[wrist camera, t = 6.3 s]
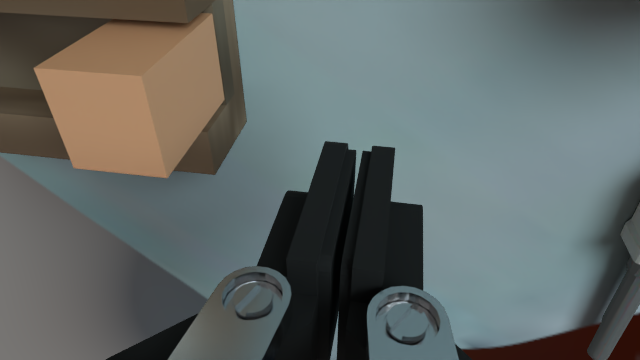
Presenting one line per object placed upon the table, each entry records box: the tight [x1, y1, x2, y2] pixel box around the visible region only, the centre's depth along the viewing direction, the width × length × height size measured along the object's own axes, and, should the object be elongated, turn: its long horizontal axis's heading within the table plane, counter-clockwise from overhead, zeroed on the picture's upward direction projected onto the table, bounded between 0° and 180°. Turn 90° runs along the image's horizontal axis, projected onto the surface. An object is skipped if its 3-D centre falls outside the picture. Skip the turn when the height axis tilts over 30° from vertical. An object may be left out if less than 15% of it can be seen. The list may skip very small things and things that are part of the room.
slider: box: [34, 13, 225, 178], centre depth 15 cm, size 3×3×5 cm
